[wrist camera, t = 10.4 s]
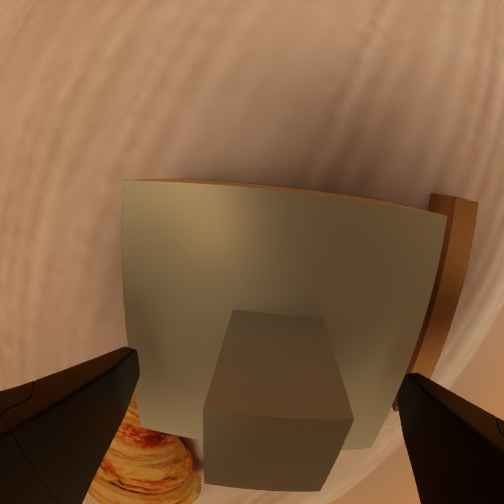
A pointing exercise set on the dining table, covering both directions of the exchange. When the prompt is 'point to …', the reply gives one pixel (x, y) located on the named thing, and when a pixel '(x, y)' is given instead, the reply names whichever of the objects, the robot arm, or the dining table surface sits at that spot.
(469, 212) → the walnut strip
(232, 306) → the cover
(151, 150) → the dining table surface
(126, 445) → the croissant
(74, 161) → the dining table surface
